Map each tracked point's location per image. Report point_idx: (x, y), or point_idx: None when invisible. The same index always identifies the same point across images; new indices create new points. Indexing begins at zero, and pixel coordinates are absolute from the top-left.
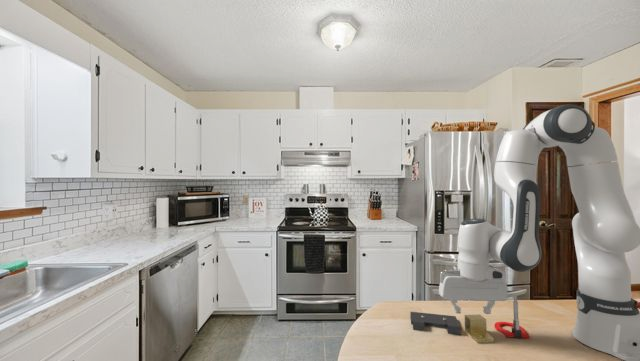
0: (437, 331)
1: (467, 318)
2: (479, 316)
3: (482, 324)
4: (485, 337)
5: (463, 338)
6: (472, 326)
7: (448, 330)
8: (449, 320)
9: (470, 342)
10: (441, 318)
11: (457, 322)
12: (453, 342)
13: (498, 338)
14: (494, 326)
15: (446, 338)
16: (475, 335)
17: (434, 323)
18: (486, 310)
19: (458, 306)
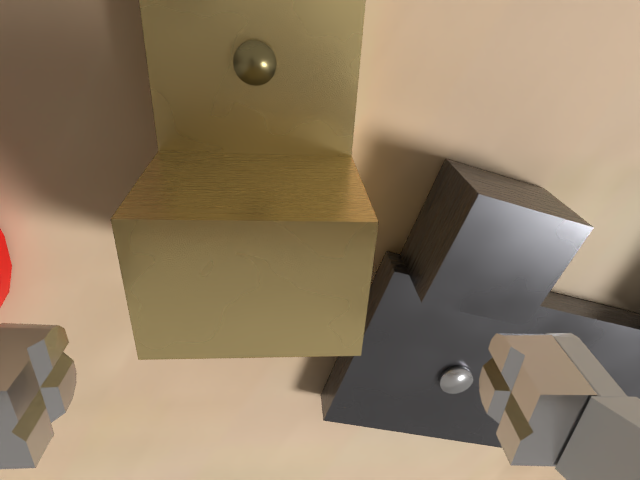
0: (605, 231)
1: (366, 283)
2: (174, 314)
3: (190, 190)
4: (234, 23)
5: (450, 96)
6: (332, 181)
7: (558, 201)
8: (425, 360)
9: (428, 5)
10: (473, 388)
11: (437, 285)
12: (612, 20)
13: (51, 72)
14: (7, 292)
15: (621, 106)
16: (334, 81)
17: (594, 318)
18: (19, 366)
19: (524, 449)
